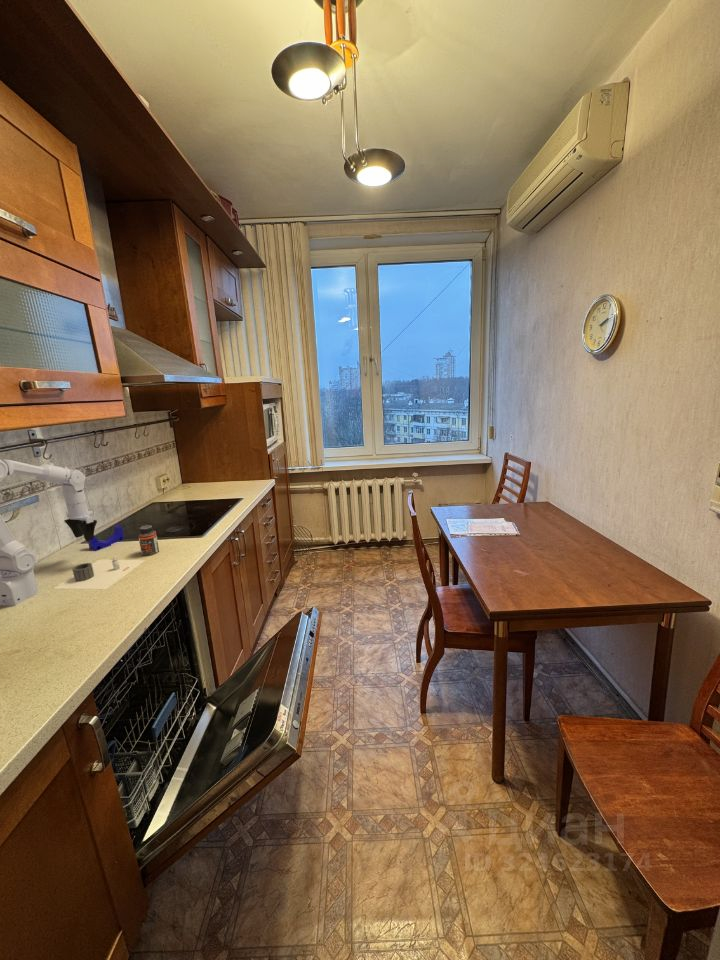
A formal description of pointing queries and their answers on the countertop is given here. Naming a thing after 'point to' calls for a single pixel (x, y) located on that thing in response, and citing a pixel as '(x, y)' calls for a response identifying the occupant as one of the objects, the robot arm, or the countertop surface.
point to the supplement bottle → (148, 541)
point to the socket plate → (102, 574)
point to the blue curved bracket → (114, 538)
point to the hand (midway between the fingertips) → (84, 538)
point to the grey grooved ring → (83, 572)
